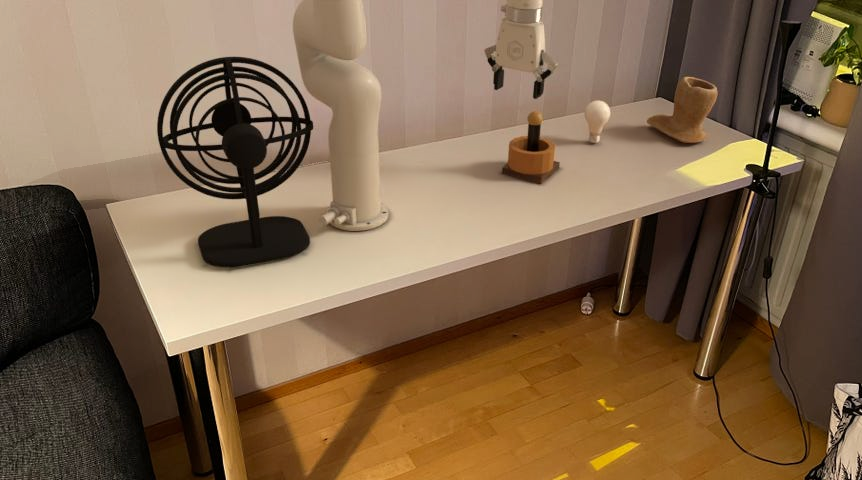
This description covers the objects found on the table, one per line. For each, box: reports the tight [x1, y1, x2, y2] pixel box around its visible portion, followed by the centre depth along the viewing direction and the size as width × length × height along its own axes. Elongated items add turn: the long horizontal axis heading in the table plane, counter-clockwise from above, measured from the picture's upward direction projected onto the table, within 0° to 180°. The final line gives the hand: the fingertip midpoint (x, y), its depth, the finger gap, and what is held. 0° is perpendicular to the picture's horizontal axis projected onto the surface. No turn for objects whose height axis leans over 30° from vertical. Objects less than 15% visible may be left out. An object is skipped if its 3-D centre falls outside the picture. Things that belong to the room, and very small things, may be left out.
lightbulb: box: [584, 99, 612, 144], centre depth 195 cm, size 6×6×11 cm
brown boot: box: [646, 76, 718, 144], centre depth 201 cm, size 15×12×15 cm
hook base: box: [501, 160, 560, 185], centre depth 182 cm, size 10×10×2 cm
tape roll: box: [507, 135, 556, 175], centre depth 180 cm, size 10×10×5 cm
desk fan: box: [156, 56, 314, 269], centre depth 141 cm, size 27×18×35 cm, turn 115°
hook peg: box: [526, 110, 544, 152], centre depth 178 cm, size 3×3×13 cm
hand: (517, 92), depth 175 cm, fingers open, 9 cm apart
